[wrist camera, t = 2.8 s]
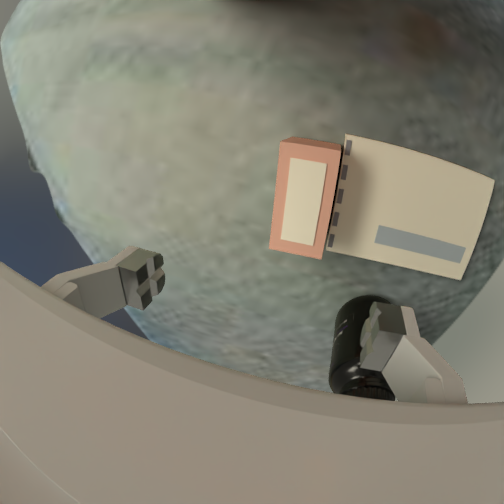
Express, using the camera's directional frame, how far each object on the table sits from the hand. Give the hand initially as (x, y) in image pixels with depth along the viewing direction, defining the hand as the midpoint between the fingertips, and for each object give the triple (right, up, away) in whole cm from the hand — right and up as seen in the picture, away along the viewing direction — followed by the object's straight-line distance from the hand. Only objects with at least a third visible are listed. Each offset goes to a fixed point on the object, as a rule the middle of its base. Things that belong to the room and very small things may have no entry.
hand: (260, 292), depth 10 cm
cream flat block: (+14, +5, +11) cm, 18 cm away
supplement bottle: (+12, -6, +18) cm, 22 cm away
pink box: (+5, +7, +13) cm, 16 cm away
